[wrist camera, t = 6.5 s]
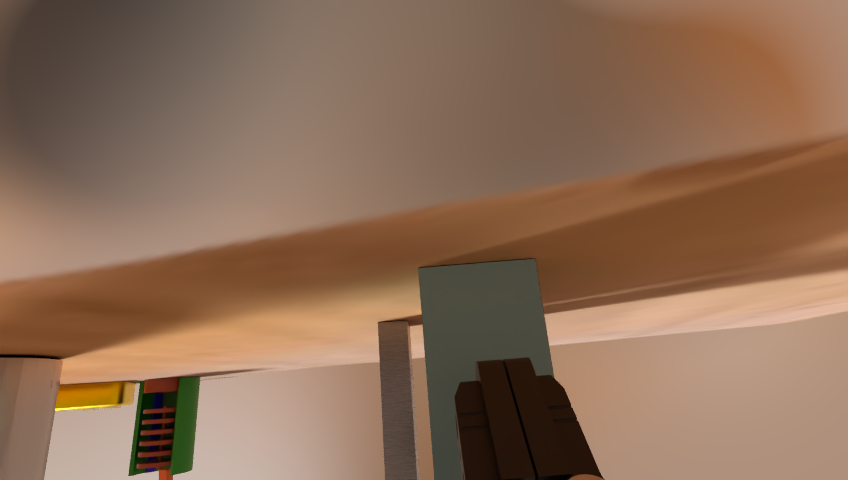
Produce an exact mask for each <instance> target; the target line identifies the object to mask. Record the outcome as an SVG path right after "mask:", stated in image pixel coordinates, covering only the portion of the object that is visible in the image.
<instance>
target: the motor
mask: <svg viewBox="0 0 848 480" xmlns="http://www.w3.org/2000/svg"><path fill="white" fill-rule="evenodd" d="M199 385H200V378H199V377H180V378H162V379H149V380H145V381H140V389H139V396H138V404H137V412H136V420H135V429H134V436H133V444H132V452H131V460H130V467H129V476H132V475H136V474H140V473H147V472H153V471H159V480H173V475H175V474H180V473H184V472H188V471H190V470H192V466H193V454H194V442H195V431H196V419H197V407H198V396H199Z"/></svg>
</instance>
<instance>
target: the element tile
mask: <svg viewBox="0 0 848 480" xmlns="http://www.w3.org/2000/svg"><path fill="white" fill-rule="evenodd" d="M134 390H135V383H131V382H105V383H89V384H72V385H60V386H59V389H58V395H57V401H56V407H55V412H59V411H69V410H70V411H71V410H83V411H87V410H98V409H99V407H100V409H112V408H120V407H121V406H119V405H130V404H132V403H133V399H134Z"/></svg>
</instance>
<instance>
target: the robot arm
mask: <svg viewBox="0 0 848 480" xmlns="http://www.w3.org/2000/svg"><path fill="white" fill-rule="evenodd" d="M62 364H63V361H62V360H57V359H44V358H0V480H44V475H45V469H46V462H47V456H48V450H49V444H50V438H51V432H52V426H53V420H54V413H55V407H56V401H57V395H58V389H59V386H60V376H61V370H62ZM475 368H476V381H467V382H460V383H459V386H458V389H457V391H456V394H455V397H454V399H455V418H456V435H457V443H458V451H459V459H460V467H461V475H462V480H605V479H603V477H602V476H601V473H600V472H599V469H598V467H597V465H596V462H595V460H594V458H593V455H592V453H591V450H590V448H589V446H588V444H587V441H586V439H585V436H584V434H583V432H582V429H581V427H580V425H579V422H578V421H577V417H576V415H575V413H574V411H573V408H571V403H570V401H569V399H568V396H567V394H566V392H565V389H564V388H563V387H562V386H561V385H560V384H559V383H558V382H557V381H556V380H555V379H554V378H553V377H552V376H551V375H541V376H536V373H535V370H534V368H533V365H532V362H531V360H530V358H529V357H525V358H513V359H503V361H502V360H501V359H499V360H487V361H476V365H475Z"/></svg>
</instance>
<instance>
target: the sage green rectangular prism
mask: <svg viewBox="0 0 848 480" xmlns="http://www.w3.org/2000/svg"><path fill="white" fill-rule="evenodd" d="M418 270H419V284H420V297H421V310H422V323H423V336H424V349H425V362H426V373H427V387H428V400H429V414H430V425H431V426H430V428H431V441H432V453H433V467H434V480H462V475H461V467H460V459H459V451H458V443H457V435H456V418H455V399H454V397H455V394H456V391H457V389H458V386H459V383H460V382H467V381H476V368H475V365H476V361H487V360H499V359H501V360H502V361H503V359H513V358H525V357H529V358H530V360H531V362H532V365H533V368H534V370H535V373H536V376H541V375H551V376H552V377H553V378H554V374H553V367H552V361H551V355H550V349H549V342H548V336H547V330H546V323H545V317H544V311H543V304H542V298H541V292H540V286H539V279H538V273H537V267H536V260H535V259H525V260H512V261H500V262H488V263H475V264H463V265H450V266H438V267H425V268H418Z"/></svg>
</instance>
